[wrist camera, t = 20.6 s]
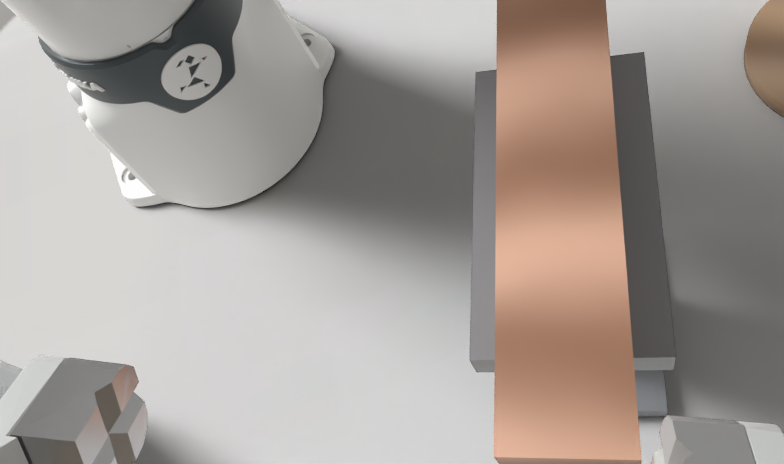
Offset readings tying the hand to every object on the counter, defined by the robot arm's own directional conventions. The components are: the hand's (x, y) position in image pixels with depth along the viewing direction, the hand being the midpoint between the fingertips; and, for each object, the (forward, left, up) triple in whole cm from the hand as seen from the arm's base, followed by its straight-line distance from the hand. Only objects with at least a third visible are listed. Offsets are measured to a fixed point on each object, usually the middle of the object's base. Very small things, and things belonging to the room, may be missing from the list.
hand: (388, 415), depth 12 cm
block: (-7, +9, -15) cm, 18 cm away
